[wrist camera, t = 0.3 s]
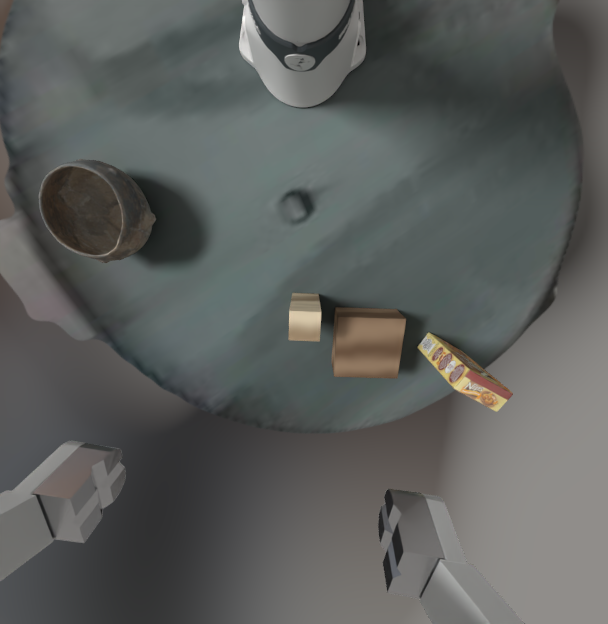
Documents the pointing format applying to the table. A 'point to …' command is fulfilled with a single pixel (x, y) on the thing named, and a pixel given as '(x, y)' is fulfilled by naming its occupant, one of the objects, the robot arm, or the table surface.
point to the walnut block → (367, 342)
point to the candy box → (464, 373)
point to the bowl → (95, 210)
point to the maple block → (305, 317)
